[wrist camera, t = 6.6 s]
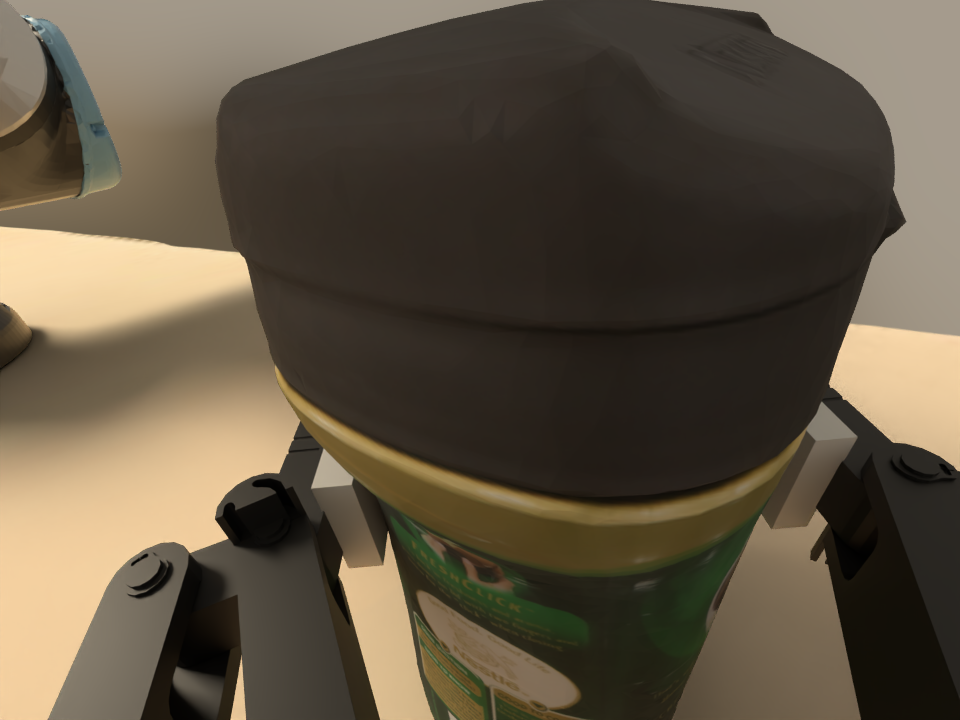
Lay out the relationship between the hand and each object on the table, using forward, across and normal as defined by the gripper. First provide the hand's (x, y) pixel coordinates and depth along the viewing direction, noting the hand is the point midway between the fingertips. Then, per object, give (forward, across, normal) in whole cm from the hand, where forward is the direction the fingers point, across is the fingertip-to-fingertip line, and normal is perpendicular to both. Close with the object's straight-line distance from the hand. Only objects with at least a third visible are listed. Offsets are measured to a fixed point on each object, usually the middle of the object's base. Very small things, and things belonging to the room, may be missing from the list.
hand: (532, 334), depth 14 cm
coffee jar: (-5, 0, -11) cm, 12 cm away
